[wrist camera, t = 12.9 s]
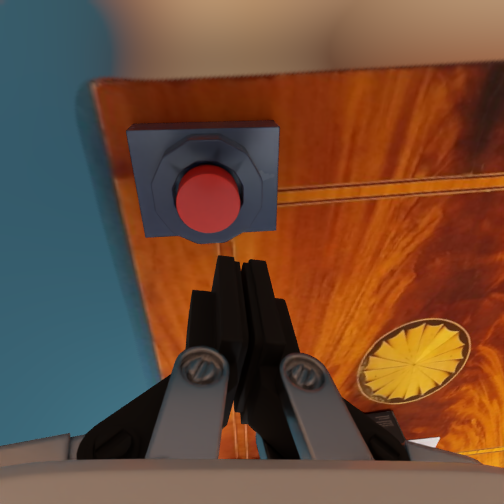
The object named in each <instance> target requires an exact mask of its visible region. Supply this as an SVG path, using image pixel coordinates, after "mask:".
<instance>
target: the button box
mask: <svg viewBox="0 0 504 504" xmlns="http://www.w3.org/2000/svg"><path fill="white" fill-rule="evenodd" d="M279 132H280V127H279V126H278V125H277V124H276V123H275V121H274V120H264V121H223V122H182V123H141V124H132V125H131V126H130V127H129V128H128V129H127V130H126V134H127V140H128V145H129V151H130V156H131V162H132V167H133V172H134V178H135V183H136V189H137V194H138V200H139V205H140V210H141V216H142V221H143V227H144V232H145V237H164V236H181V237H183V238H185V239H188V240H190V241H192V242H195V243H197V244H198V243H199V244H207V243H224V242H227V241H229V240H230V239H232V238H234V237H236V236H237V235H239V234H241V233H242V232H256V231H274V230H276V216H277V188H278V160H279ZM200 165H215V166H219V167H221V168H223V169H225V170H226V171H227V172H229V173H230V174H231V175H232V177H233V178H234V180H235V182H236V184H237V187H238V192H239V196H240V211H239V214H238V216H237V218H236V219H235V221H234V222H233V223H232V224H231V225H230V226H229V227H227V228H226V229H224V230H222V231H219V232H215V233H203V232H199V231H196V230H194V229H192V228H190V227H189V226H187V225H186V224H185V223H184V222H183V221H182V219H181V218H180V216H179V214H178V212H177V208H176V197H177V192H178V187H179V184H180V181H181V179H182V177H183V176H184V175H185V174H186V173H187V172H188V171H189V170H191V169H192V168H194V167H197V166H200Z"/></svg>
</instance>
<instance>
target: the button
mask: <svg viewBox="0 0 504 504" xmlns="http://www.w3.org/2000/svg"><path fill="white" fill-rule="evenodd" d="M176 208H177V212H178V214H179V216H180V218H181V219H182V221H183V222H184V223H185V224H186V225H187V226H189V227H190V228H192V229H194V230H196V231H199V232H203V233H215V232H219V231H222V230H224V229H226V228H227V227H229V226H230V225H231V224H232V223H233V222H234V221H235V219H236V218H237V216H238V214H239V211H240V196H239V192H238V187H237V184H236V182H235V180H234V178H233V177H232V175H231V174H230V173H229V172H227V171H226V170H225V169H223V168H221V167H219V166H215V165H200V166H197V167H194V168H192V169H191V170H189V171H188V172H187V173H186V174H185V175H184V176H183V177H182V179H181V181H180V184H179V187H178V192H177V197H176Z"/></svg>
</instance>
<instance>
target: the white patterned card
mask: <svg viewBox="0 0 504 504" xmlns="http://www.w3.org/2000/svg"><path fill="white" fill-rule="evenodd" d="M439 439H440V437H436V438H426V439H417V440H408V441H411V442H415V443H418V444H422V445H426V446H430V447H434V448H435V447H436V445H437V443H438V441H439Z"/></svg>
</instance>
